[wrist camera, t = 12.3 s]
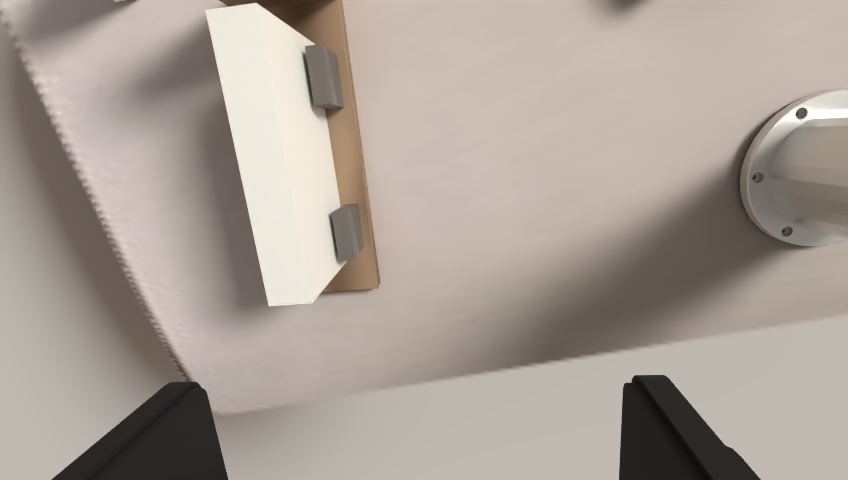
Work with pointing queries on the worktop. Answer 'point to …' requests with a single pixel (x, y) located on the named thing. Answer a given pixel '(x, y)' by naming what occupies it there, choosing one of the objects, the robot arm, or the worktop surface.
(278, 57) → the door panel
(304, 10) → the cabinet base
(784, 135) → the robot arm
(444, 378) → the worktop surface
